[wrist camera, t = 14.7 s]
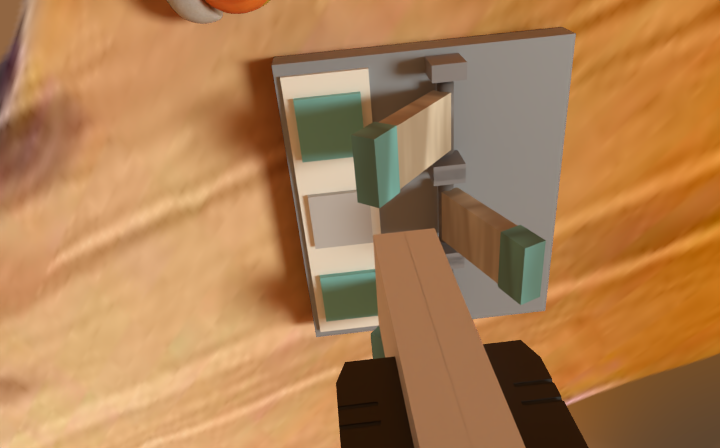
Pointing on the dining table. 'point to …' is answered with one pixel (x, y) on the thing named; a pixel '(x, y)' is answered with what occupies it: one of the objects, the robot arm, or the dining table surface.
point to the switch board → (420, 196)
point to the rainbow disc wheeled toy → (212, 8)
